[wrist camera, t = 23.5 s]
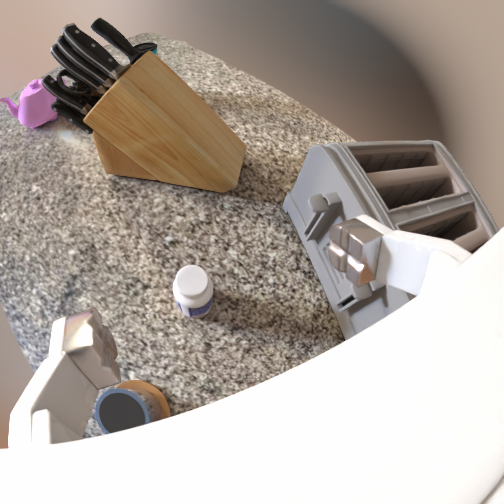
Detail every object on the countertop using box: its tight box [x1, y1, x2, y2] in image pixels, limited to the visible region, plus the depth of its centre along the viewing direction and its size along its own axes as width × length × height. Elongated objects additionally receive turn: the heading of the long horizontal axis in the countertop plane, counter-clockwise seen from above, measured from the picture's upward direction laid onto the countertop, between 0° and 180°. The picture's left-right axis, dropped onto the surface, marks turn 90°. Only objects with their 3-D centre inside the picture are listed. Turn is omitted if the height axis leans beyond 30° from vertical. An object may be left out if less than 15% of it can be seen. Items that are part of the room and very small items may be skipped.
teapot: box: [0, 79, 66, 129], centre depth 50 cm, size 20×14×12 cm
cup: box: [95, 388, 161, 434], centre depth 29 cm, size 6×6×9 cm
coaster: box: [116, 380, 170, 420], centre depth 33 cm, size 9×9×1 cm
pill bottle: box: [173, 265, 213, 318], centre depth 38 cm, size 5×5×9 cm
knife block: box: [41, 18, 247, 193], centre depth 39 cm, size 11×35×31 cm, turn 81°
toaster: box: [282, 140, 500, 340], centre depth 43 cm, size 31×36×17 cm
